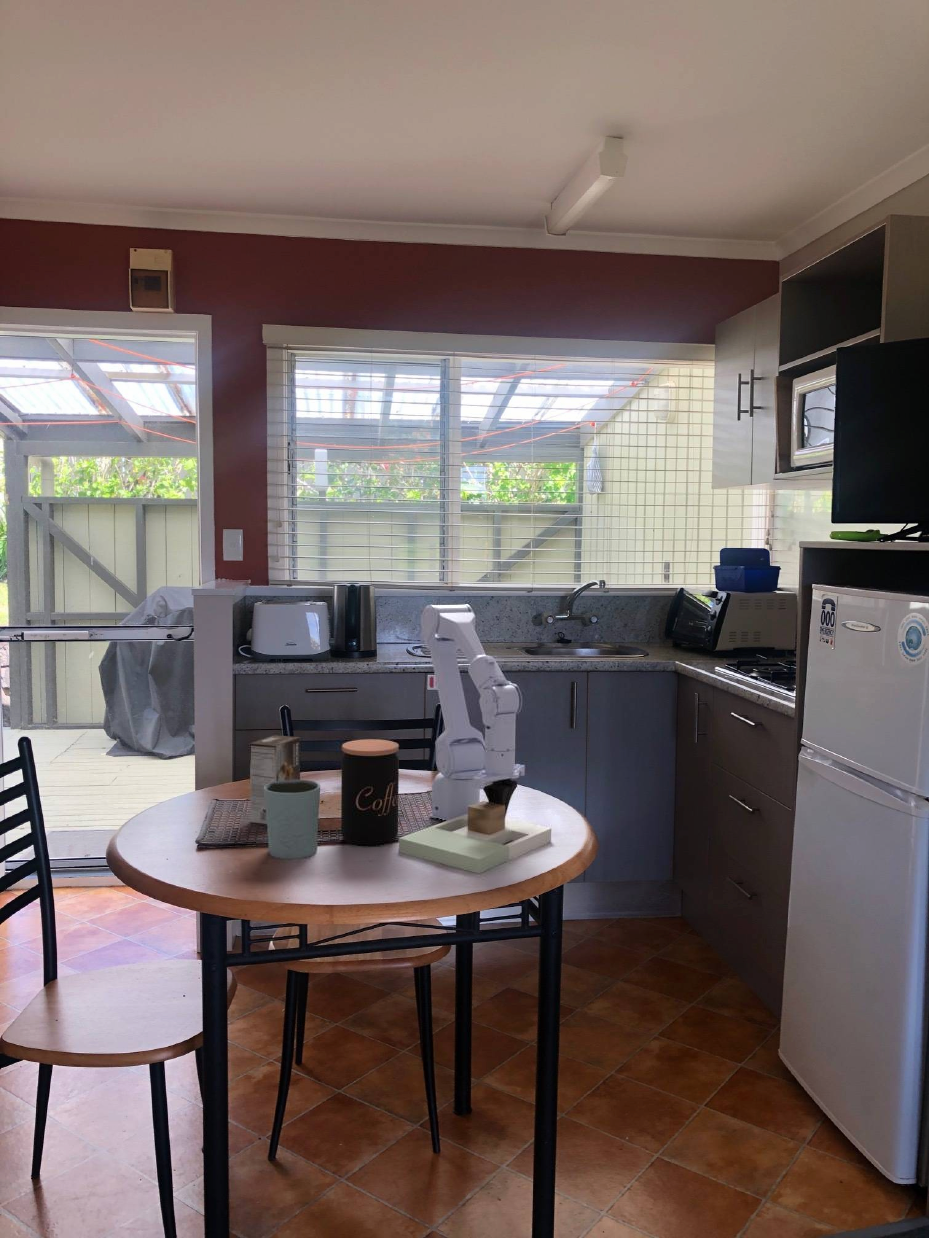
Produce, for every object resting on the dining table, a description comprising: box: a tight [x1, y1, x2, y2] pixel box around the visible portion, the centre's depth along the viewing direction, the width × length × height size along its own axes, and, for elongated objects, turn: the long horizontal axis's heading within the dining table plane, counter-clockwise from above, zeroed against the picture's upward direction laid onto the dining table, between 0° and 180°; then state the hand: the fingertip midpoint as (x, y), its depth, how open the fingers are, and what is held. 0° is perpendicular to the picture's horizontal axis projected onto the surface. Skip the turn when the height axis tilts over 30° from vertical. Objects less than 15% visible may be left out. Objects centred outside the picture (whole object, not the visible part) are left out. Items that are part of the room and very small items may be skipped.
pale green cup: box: [263, 779, 321, 860], centre depth 168 cm, size 10×10×12 cm
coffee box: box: [249, 734, 301, 825], centre depth 188 cm, size 9×6×16 cm
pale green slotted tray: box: [398, 814, 552, 875], centre depth 173 cm, size 18×23×2 cm
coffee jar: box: [340, 738, 400, 848], centre depth 176 cm, size 11×11×18 cm
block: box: [468, 800, 506, 835], centre depth 175 cm, size 5×5×4 cm
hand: (498, 818), depth 178 cm, fingers closed
